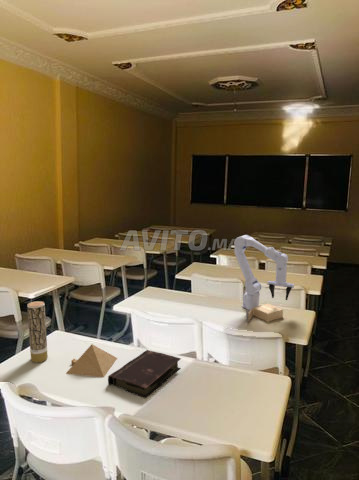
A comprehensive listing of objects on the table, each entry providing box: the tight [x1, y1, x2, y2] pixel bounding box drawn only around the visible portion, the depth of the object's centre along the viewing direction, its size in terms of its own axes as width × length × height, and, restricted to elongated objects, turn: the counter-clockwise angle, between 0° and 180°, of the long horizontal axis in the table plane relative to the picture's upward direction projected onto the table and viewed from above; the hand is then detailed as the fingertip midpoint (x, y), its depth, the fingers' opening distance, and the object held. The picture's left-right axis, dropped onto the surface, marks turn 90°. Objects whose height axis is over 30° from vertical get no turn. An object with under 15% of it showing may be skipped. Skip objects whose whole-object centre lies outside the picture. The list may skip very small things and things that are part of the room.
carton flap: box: [245, 308, 254, 323], centre depth 211 cm, size 13×1×7 cm, turn 156°
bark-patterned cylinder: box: [26, 300, 48, 363], centre depth 163 cm, size 7×7×25 cm
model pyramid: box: [66, 343, 118, 378], centre depth 160 cm, size 17×17×10 cm
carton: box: [253, 303, 284, 322], centre depth 216 cm, size 11×12×4 cm
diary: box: [107, 349, 182, 399], centre depth 152 cm, size 19×25×5 cm
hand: (279, 298), depth 218 cm, fingers open, 7 cm apart
